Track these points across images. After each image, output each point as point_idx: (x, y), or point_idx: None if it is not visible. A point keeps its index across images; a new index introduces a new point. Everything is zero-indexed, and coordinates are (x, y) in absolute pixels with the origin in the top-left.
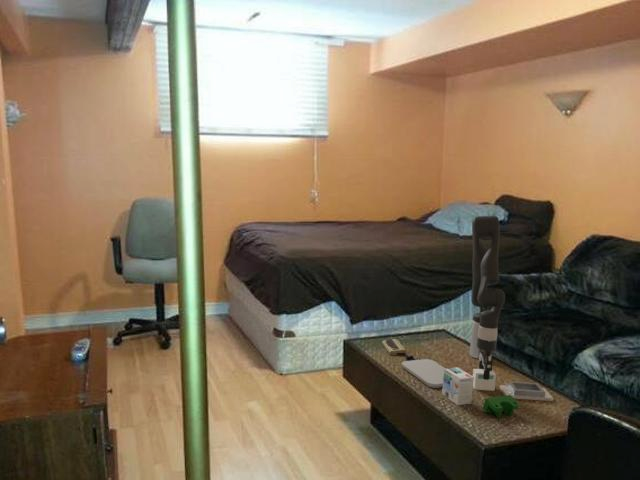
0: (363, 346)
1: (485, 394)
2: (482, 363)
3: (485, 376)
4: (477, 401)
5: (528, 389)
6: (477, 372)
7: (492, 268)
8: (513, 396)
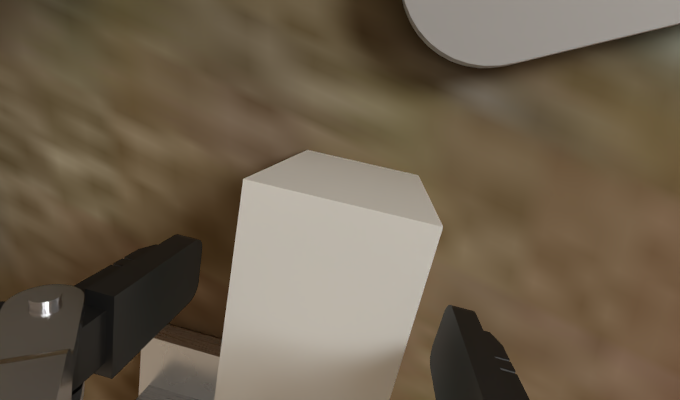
0: None
1: (207, 197)
2: (40, 365)
3: (128, 259)
4: (70, 64)
5: None
6: (271, 215)
7: None
8: (145, 371)
